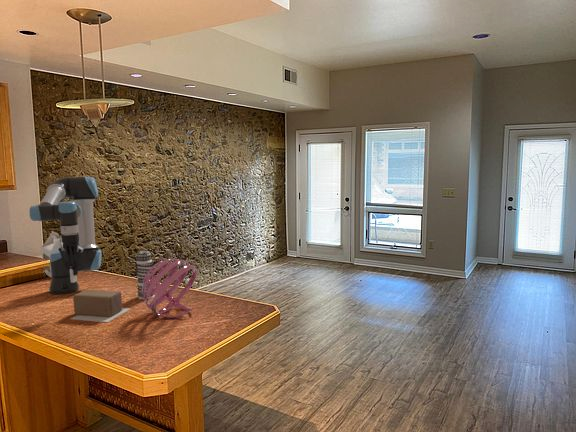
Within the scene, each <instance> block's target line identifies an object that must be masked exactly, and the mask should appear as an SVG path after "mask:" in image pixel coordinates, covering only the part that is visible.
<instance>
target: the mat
mask: <svg viewBox="0 0 576 432" xmlns="http://www.w3.org/2000/svg"><path fill="white" fill-rule="evenodd" d="M130 310H131V308H128V307H122V311H120V312H118V313H116V314H115V315H113V316H111V317H106V316H90V315H74V316H73V317H70V320H74V321H75V320H76V321H86V322H89V321H90V322H99V323H109V322H111V321H113V320H115V319H116V318H118V317H119V316H121V315H124V314H125V313H126V312H128V311H130Z"/></svg>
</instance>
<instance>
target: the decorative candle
mask: <svg viewBox="0 0 576 432" xmlns="http://www.w3.org/2000/svg"><path fill="white" fill-rule="evenodd" d="M135 256H136V261H135V262H134V264H135V265H134V266H135V272H136V278H137V286H136V287H137V297H138V298H137V299H139V300H144V297H143V294H142V286H143V280H144V277H145V275H146V274H147V272H148V271H149V270H150V268H151V267H152V266H154V261H153V260H152V253H151V252H150V251H149V250H140V251H137V253H136V254H135ZM153 269H154V268H153ZM153 269H152V270H151V272H152V271H153ZM151 272H150V273H151ZM150 273H149V274H150ZM149 274H148V275H149ZM152 278H153V276H152V277H151V278H150V280H151V279H152ZM149 286H150V285H149ZM149 286H146V291H147V289H148V288H149ZM154 297H155V294H154V295H153V296H150V297H149V298H148V300H149V299H154Z"/></svg>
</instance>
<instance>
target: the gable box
mask: <svg viewBox="0 0 576 432" xmlns="http://www.w3.org/2000/svg"><path fill="white" fill-rule="evenodd" d="M48 234H49V235H48V237H47V239H46V240H45V241H44V243H43V245H42V247H41V248H40V249H41V257H42V258H41V259H45V260H50V255H51V254H52V253H53V252H56V251H59V250H58V249H59V248H61V247H62V245H63V243H62V239H61V236H60V233H58V232H56V231H53V230H51V232H49V233H48ZM45 273H46V274H45ZM45 273H44V274H45V275H47V276H48V277H49V278H51V279H52V275H51V265H50V266H47V267H45Z"/></svg>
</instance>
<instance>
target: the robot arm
mask: <svg viewBox="0 0 576 432" xmlns="http://www.w3.org/2000/svg"><path fill="white" fill-rule="evenodd" d="M98 189H99V188H98V184H97V182H96V179H95V178H94V177H92V176H77V177H75V176H73V177H61V178H59V179H56V180H55V181H53V182H52V183H50V184H49V185H48V187H47V188H46V191H45V192H46V193H45V195H44V197H43V198H42V200H41V201H40V203H39V204H35V205H31V206H30V207H29V218H30V220H31V221H34V222H43V221H59V225H60V234H61V236H60V238H61V239H62V243H63V245H62V247H61V248H59V249H58V250H59V251H56V252H53V253H52V254H51V255H50V265H51V275H52V278H51V281H50V285H49V289H48V290H49V294H52V295H64V294H69V293H74V292H76V291H78V290H79V289H80V285H79V283H78V274H79V273H78V272H91V271H97V270H99V269H100V268H101V264H102V258H103V257H102V255H103V254H102V249H99V246H98V245H97V244H96V234H95V219H94V216H95V215H94V202H95V201H96V197H97V198H98V197H99V190H98ZM65 198H66V199H70V198H71V199H73V201H61V200H63V199H65Z"/></svg>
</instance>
